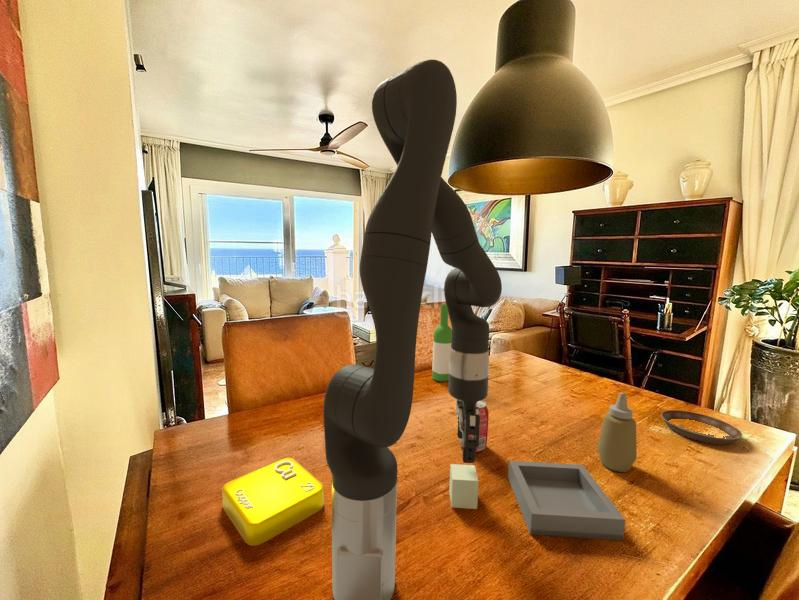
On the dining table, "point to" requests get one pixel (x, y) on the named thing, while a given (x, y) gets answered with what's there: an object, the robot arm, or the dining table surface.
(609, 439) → the squeeze bottle
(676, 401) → the dining table surface
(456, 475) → the sage block
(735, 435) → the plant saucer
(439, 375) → the wine bottle
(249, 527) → the element tile
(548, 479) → the bin
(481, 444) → the soda can
